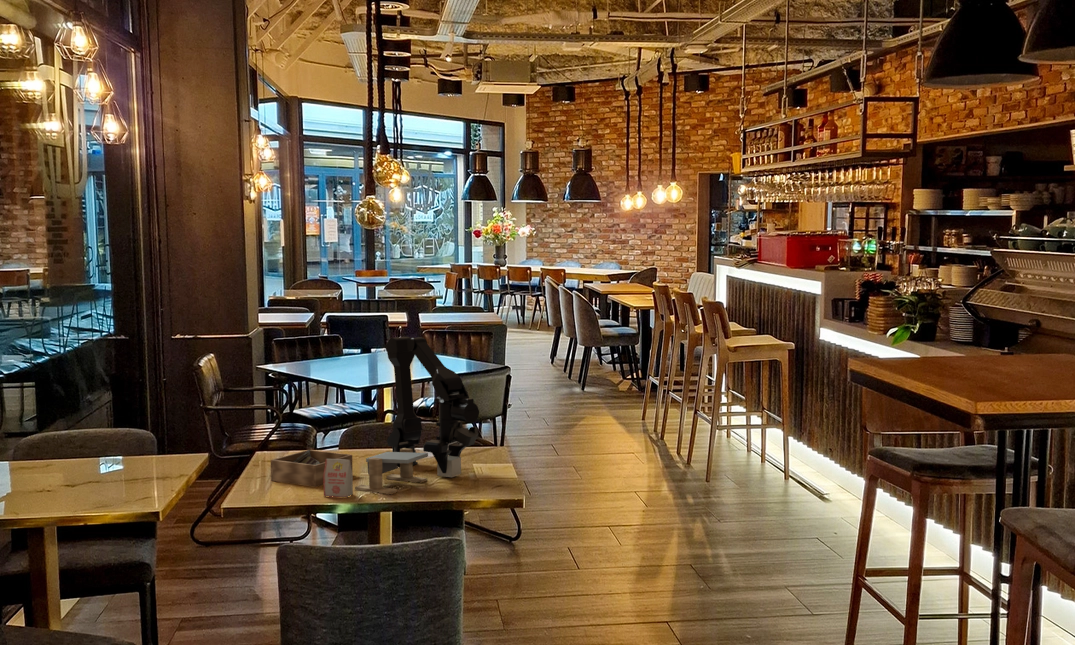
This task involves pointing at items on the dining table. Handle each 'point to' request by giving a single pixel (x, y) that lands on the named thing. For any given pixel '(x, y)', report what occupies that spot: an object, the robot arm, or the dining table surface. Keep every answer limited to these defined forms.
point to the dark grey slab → (396, 459)
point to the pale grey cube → (451, 467)
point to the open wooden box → (303, 468)
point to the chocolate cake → (306, 459)
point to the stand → (376, 475)
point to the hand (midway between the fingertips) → (449, 471)
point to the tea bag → (338, 478)
